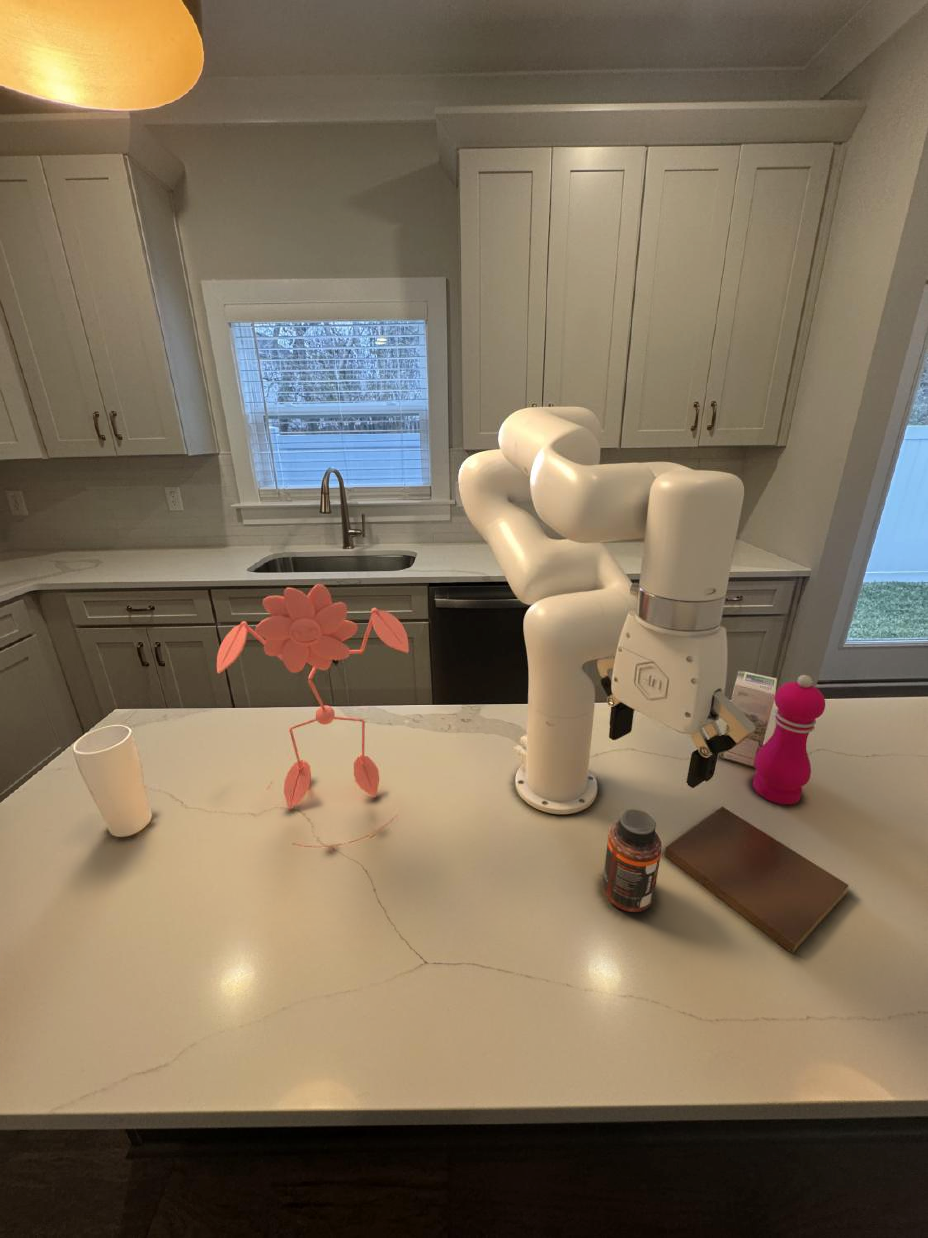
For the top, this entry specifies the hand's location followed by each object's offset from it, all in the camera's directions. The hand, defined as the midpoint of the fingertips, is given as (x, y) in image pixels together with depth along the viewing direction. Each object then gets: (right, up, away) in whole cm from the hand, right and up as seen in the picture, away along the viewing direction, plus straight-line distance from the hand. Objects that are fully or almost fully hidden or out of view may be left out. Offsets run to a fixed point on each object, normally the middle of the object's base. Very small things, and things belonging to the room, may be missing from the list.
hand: (656, 756), depth 54 cm
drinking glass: (-69, -15, +19) cm, 73 cm away
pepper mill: (+27, -12, +24) cm, 38 cm away
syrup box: (+26, -9, +32) cm, 42 cm away
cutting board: (+16, -18, +10) cm, 25 cm away
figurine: (-40, -14, +21) cm, 48 cm away
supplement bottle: (-1, -19, +8) cm, 20 cm away
